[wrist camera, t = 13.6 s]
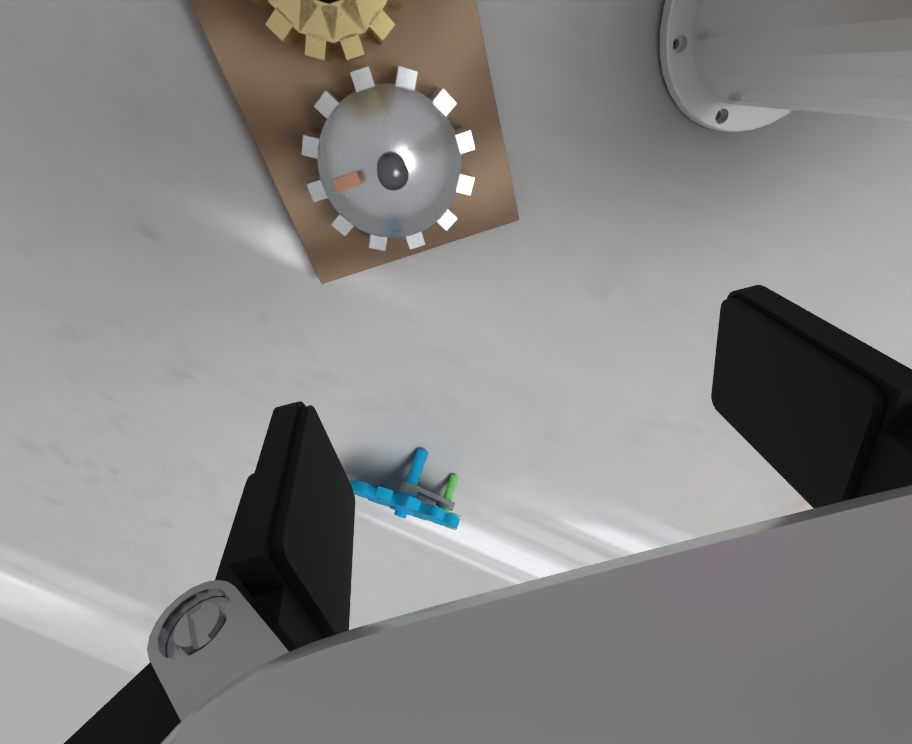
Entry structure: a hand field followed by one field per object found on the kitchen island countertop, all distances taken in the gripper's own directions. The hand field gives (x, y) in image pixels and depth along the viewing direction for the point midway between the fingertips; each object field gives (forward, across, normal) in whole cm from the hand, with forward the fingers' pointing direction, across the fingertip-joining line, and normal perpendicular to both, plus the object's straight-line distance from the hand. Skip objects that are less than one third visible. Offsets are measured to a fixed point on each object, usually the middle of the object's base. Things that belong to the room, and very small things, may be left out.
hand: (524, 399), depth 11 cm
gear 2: (+25, +8, +25) cm, 36 cm away
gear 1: (+23, +2, -2) cm, 23 cm away
